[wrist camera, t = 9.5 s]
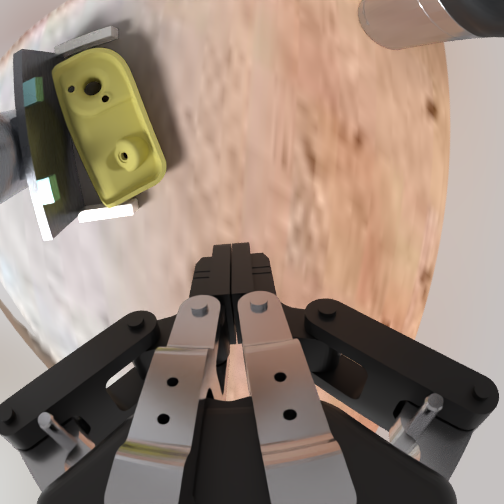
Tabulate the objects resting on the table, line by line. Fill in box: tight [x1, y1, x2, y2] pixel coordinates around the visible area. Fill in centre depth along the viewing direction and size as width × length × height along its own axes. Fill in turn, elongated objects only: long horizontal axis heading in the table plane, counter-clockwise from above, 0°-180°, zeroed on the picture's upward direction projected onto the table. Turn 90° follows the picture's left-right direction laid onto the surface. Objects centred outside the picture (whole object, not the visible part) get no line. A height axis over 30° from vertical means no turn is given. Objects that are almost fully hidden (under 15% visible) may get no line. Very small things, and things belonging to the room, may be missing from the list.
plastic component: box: [52, 48, 166, 209], centre depth 31 cm, size 20×7×10 cm
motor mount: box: [0, 26, 139, 240], centre depth 25 cm, size 23×26×18 cm
